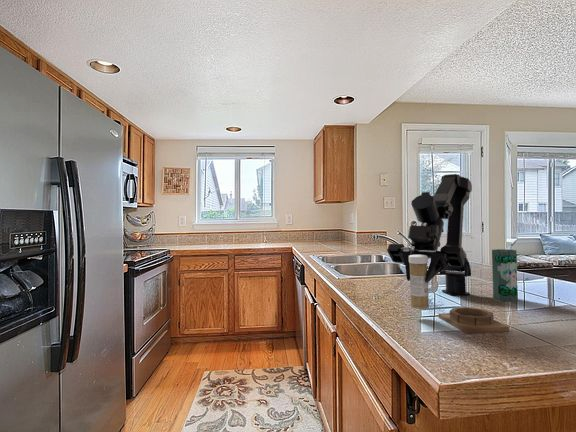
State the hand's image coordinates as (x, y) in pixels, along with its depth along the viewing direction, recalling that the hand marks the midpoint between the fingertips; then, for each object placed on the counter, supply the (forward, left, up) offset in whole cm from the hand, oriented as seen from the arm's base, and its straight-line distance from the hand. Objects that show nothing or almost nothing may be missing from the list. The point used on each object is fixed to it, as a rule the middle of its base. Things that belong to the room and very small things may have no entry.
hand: (416, 280), depth 86 cm
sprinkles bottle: (-1, +1, -7) cm, 7 cm away
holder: (+5, +11, -10) cm, 16 cm away
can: (-15, +35, -10) cm, 39 cm away
